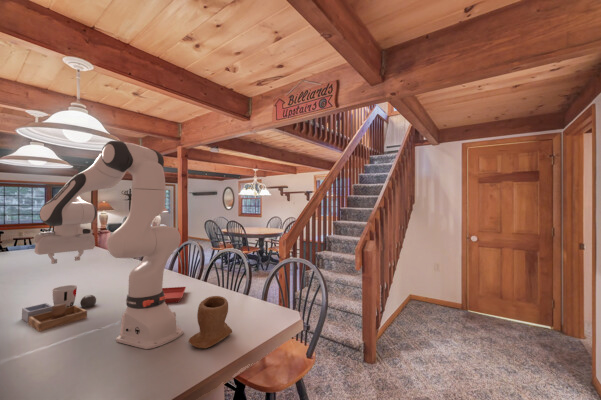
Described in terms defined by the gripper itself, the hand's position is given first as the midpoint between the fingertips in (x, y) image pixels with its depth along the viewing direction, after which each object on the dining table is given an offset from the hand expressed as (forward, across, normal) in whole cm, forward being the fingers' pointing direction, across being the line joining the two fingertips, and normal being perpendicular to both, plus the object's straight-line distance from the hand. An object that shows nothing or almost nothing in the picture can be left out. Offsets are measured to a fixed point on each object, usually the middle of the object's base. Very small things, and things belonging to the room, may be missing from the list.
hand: (66, 261), depth 117 cm
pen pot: (+21, -10, -3) cm, 24 cm away
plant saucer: (+22, +33, -22) cm, 45 cm away
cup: (+22, 0, 0) cm, 22 cm away
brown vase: (+21, +17, -76) cm, 81 cm away
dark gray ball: (+21, +7, -5) cm, 23 cm away
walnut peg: (+20, -6, -14) cm, 25 cm away
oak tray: (+21, -6, -14) cm, 26 cm away
